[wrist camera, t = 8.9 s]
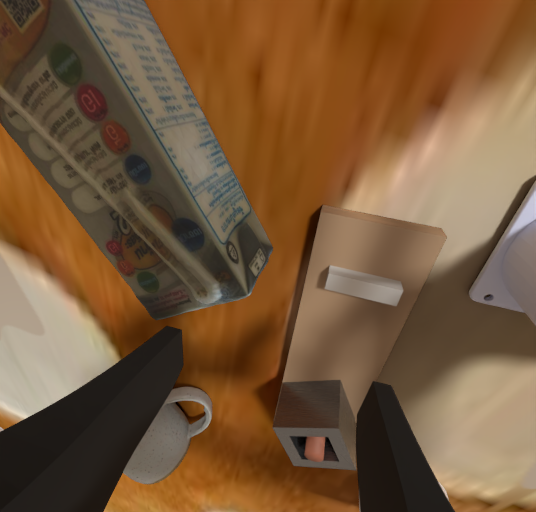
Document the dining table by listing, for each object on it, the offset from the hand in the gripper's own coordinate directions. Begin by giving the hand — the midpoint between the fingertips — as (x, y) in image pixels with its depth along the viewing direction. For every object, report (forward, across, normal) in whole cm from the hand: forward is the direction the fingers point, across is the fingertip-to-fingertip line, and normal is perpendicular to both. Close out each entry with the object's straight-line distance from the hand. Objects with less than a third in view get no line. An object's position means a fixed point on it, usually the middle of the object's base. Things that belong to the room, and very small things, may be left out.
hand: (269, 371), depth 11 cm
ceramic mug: (+11, +11, +23) cm, 27 cm away
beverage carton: (+11, +10, -5) cm, 16 cm away
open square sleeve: (+9, -4, +14) cm, 17 cm away
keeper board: (+10, -4, +8) cm, 14 cm away
